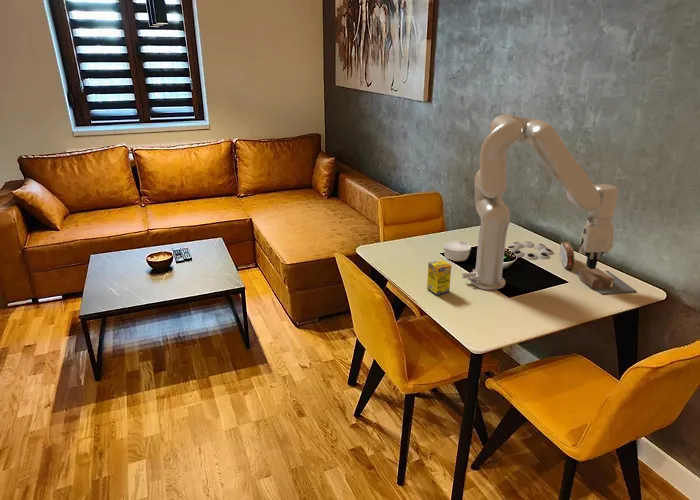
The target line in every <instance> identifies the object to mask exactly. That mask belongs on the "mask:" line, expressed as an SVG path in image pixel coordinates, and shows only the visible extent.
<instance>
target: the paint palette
mask: <svg viewBox="0 0 700 500" xmlns="http://www.w3.org/2000/svg"><path fill="white" fill-rule="evenodd" d="M506 248H507V249H509V250H510V251H512V252H513V253H514V254H515V255H516V256H518V257H517V258H524V259H525V260H529V261H536V260H540V259H541V260H549V259H551V256H552V255H555V252H554V251H553V250H552V249H550V248H548V247H547V245H545V244H543V243H536V244H535V243H534V242H532V241H524V242H522V243H521V242H520V241H519V242H518V241H515V242H511V244H510V245H509V246H507V247H506ZM523 248H528V249H530V248H531V249H534V250H537V251H538V252H537V253H536V254H535V253H533V252H528V253H525V252H524V251H522V250H520V249H523ZM512 252H511V253H512ZM531 256H532V257H531Z"/></svg>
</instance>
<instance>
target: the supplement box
mask: <svg viewBox="0 0 700 500" xmlns="http://www.w3.org/2000/svg"><path fill="white" fill-rule="evenodd" d="M427 266H428V267H427V284H426V290H427V289H428V290H429V292H430V291H431V292H432V293H431V292H430V293H431V294H433V295H434V294H435V297H436V296H437V295H438V296H440V295H444V294H448V293H450V286H451V277H452V274H451V273H452V265H451V264H450V263H449V262H446V261H445V260H443V259H438V260H435V261H429V262H428V265H427ZM428 290H427V291H428Z"/></svg>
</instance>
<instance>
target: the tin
mask: <svg viewBox="0 0 700 500" xmlns="http://www.w3.org/2000/svg"><path fill="white" fill-rule="evenodd" d="M559 257H560V261H561V263H562V265H563V267H564V269H571V270H572V269H574V266H575V251H574V248H573V246H572V244H571V243H570V241H568V240H567V241H561V242H560V251H559Z"/></svg>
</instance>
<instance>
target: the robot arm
mask: <svg viewBox="0 0 700 500" xmlns="http://www.w3.org/2000/svg"><path fill="white" fill-rule="evenodd" d="M489 131H490V133H488V135H487V136H486V137H485V139H484V141H483V143H482V145H481V147H480V151H479V169H478V171H477V172H476V174H475V176H474V199H475V208H476V212H477V215H478V217H479V218H480V227H479V231H478V238H477V249H476V262H475V268H473V269H472V271H470V272H464V273H463V272H462V274H461V277H462V279H467V281H469V282H470V284H471V285H472V286H474V287H476V288H478V289H482V290H487V291H488V290H489V291H496V290H499V289H502V288H504V287H505V285H506V280H505V279H504V278H503V277H502V276H503V267H504V266H503V265H504V257H505V251H506V240H507V235H508V229H509V226H510V220H511V213H510V210H509V208H508V207H507V204H506V203H505V202H504V201H503V199H502V198H503V196H504V194H505V193H506V191H507V186H508V181H507V153H508V152H509V149H510V148H511V147H512V146H513V145H514V144H516V143H522V144H523V143H524V144H529V145H530V146H531V147H532V148H533V149H534V151H535V152H536V154H537V155H538V157H539V158H540V160H541V161H542V163H543V164H544V166H545V168H546V169H547V170H548V172H549V173H550V174H551V175H552V176H553V177H554V178H555V179H556V180H557V181H558V182H559V183H560V184H561V185H563V187H564V188H565V189H566V197H567V199H568V200H569V202H571V204H573V205H574V206H576V208H578V209H579V210H581V211H582V212H587V213H588V217H587V216H586V217H584V221H585V224H584V226H583V228H582V232H581V235H580V240H579V244H578V245H579V251H578V253H580V254H581V255H585V257H586V263H585V265H586V267H587V269H595V268H597V264H598V261H599V259H600V258H601V256H602V255H603V254H607V253H609V252H611V250H612V249H613V245H614V234H615V233H614V224H613V217H614V211H615V207H616V202H617V197H618V192H619V190H618V188H617V186H615V185H612V184H607V183H601V184H594V183H593V182H592V180H591V179H590V177H589V176H588V175H587V174H586V172H585V171H584V169H582V167H581V166H580V164H579V162H578V161H577V160H576V159H575V158H574V156H573V155H572V153H571V152H570V150H569V149H568V148H567V146H566V144H565V143H564V141H563V139H562V138H561V137H560V135H559V133H558V132H557V131H556V128H555V127H553V125H552V124H550V123H548V122H546V121H544V120H541V119H535V118H527V117H522V116H516V115H510V114H500V115H497V116H496V117H495V118H494V119H493V120H492V121H491V123H490V127H489Z"/></svg>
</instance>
